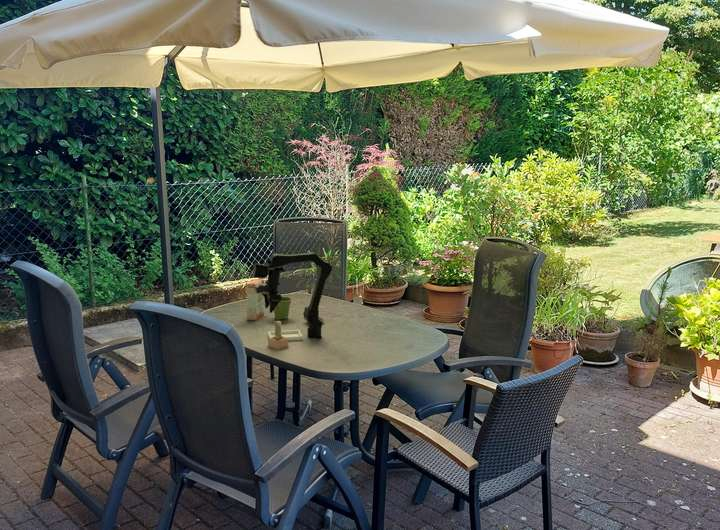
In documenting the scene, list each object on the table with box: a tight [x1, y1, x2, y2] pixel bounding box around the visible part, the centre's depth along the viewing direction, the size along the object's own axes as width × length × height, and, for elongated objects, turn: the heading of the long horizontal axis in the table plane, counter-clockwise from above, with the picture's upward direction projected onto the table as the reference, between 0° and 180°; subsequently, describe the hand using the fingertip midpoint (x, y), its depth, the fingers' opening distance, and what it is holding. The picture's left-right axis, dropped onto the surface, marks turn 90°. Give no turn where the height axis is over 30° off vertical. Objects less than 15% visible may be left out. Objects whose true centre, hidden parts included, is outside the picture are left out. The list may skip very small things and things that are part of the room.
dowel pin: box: [274, 320, 282, 340], centre depth 296 cm, size 3×3×12 cm
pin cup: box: [267, 336, 289, 350], centre depth 297 cm, size 7×7×4 cm
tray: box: [267, 329, 304, 342], centre depth 310 cm, size 16×12×2 cm
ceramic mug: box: [305, 315, 325, 324], centre depth 338 cm, size 11×8×8 cm
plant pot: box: [273, 296, 293, 320], centre depth 348 cm, size 12×12×11 cm
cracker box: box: [246, 278, 265, 321], centre depth 348 cm, size 14×6×21 cm, turn 171°
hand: (268, 310), depth 302 cm, fingers open, 9 cm apart
